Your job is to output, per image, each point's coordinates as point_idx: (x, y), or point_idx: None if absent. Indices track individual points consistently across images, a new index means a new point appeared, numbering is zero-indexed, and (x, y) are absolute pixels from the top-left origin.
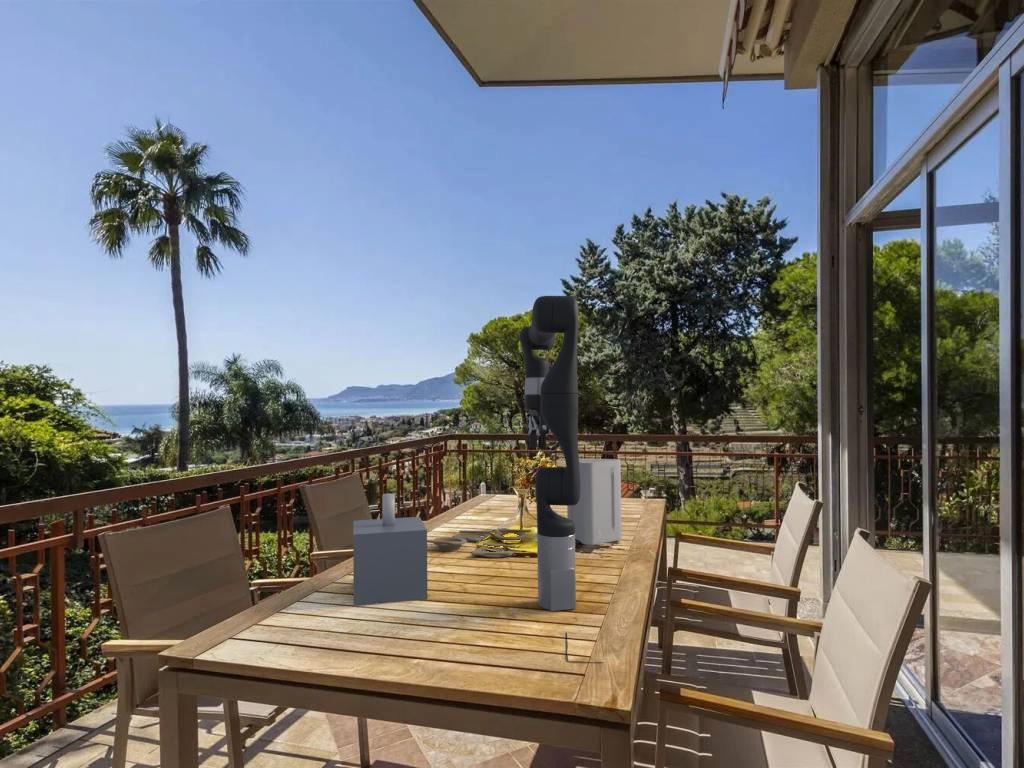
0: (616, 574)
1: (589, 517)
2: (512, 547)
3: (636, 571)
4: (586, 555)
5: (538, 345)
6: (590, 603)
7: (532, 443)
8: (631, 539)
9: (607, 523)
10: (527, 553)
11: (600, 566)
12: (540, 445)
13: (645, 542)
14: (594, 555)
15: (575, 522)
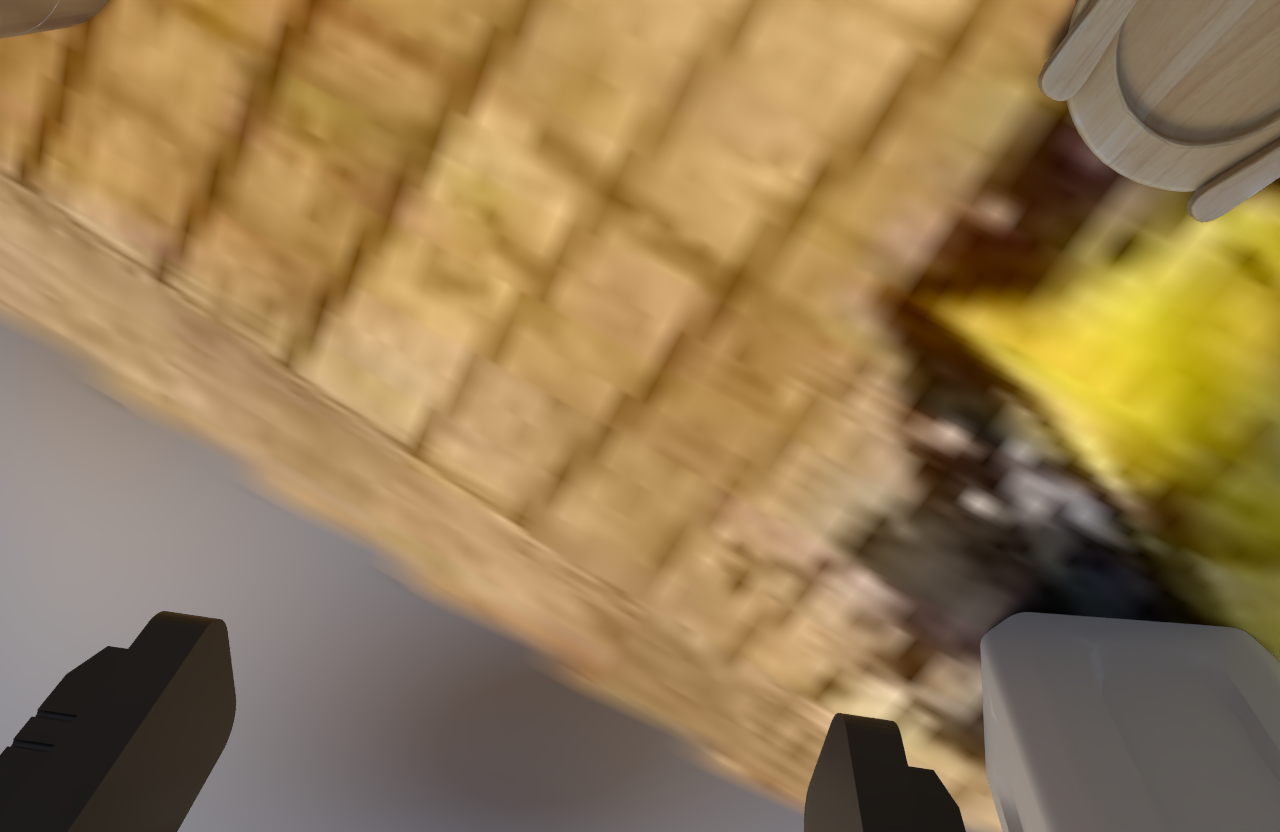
0: (432, 448)
1: (1039, 749)
2: (1200, 191)
3: (446, 543)
4: (810, 508)
5: None
6: (26, 98)
7: (838, 820)
8: None
9: (1023, 806)
10: (1057, 245)
11: (587, 458)
12: (91, 679)
13: None
14: (788, 539)
15: (1196, 706)
